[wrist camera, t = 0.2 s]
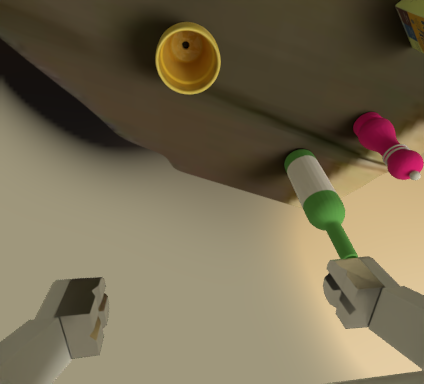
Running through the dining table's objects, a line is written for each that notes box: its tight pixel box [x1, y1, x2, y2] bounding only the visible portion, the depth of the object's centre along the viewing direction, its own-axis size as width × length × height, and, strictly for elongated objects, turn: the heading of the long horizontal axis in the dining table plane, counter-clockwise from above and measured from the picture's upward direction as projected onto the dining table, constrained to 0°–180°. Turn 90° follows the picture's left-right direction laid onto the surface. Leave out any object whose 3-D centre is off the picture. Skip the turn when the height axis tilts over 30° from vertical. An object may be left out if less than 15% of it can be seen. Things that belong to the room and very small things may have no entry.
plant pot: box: [155, 22, 221, 94], centre depth 49 cm, size 10×10×10 cm
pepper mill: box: [353, 112, 424, 180], centre depth 62 cm, size 7×7×20 cm
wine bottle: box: [284, 149, 358, 259], centre depth 64 cm, size 8×8×30 cm
